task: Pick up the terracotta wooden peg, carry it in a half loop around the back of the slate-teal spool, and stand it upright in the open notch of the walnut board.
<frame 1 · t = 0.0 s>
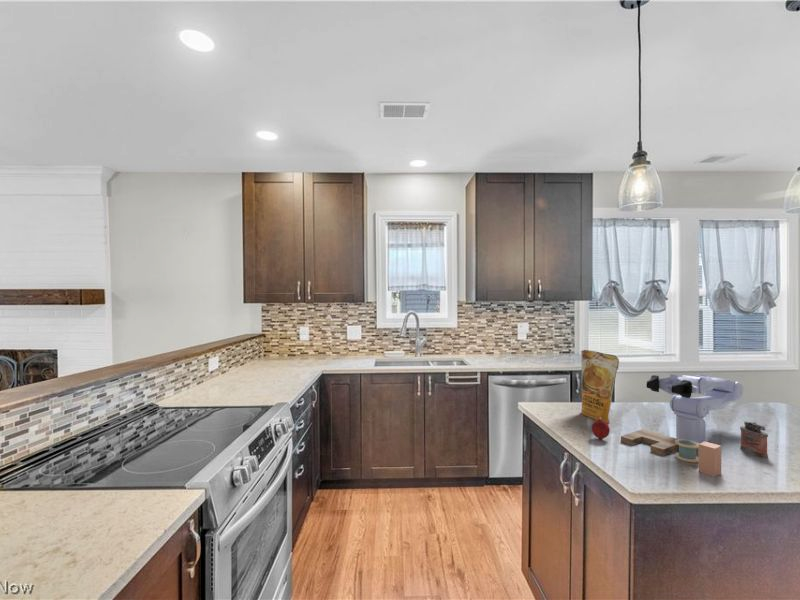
hand: (659, 386, 128), 22 cm above the counter, tool horizontal, fingers open, 7 cm apart
spool: (687, 458, 123), on the counter
onion: (600, 440, 140), on the counter
peg: (709, 472, 113), on the counter
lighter: (753, 453, 126), on the counter
notched board: (652, 444, 135), on the counter
pancake mix bag: (596, 418, 165), on the counter
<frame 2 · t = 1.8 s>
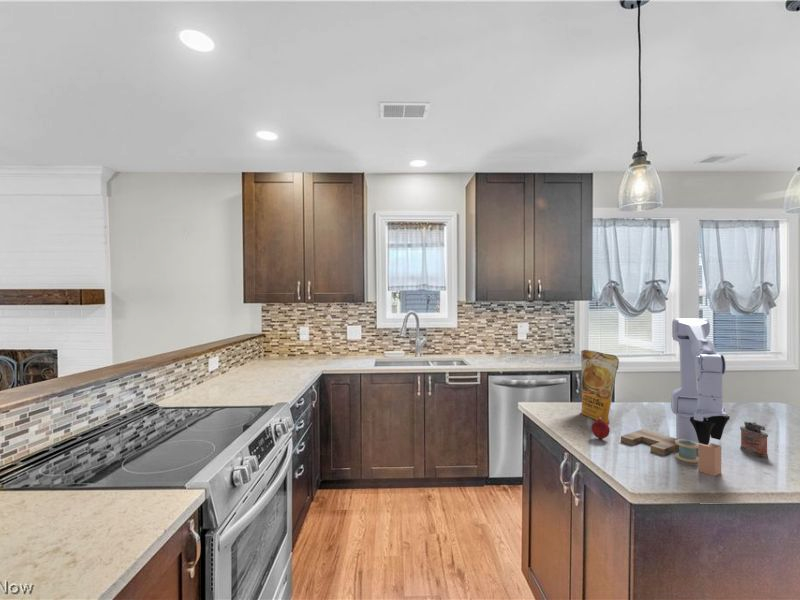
hand: (709, 441, 113), 9 cm above the counter, tool pointing down, fingers open, 7 cm apart
nothing on the counter moved.
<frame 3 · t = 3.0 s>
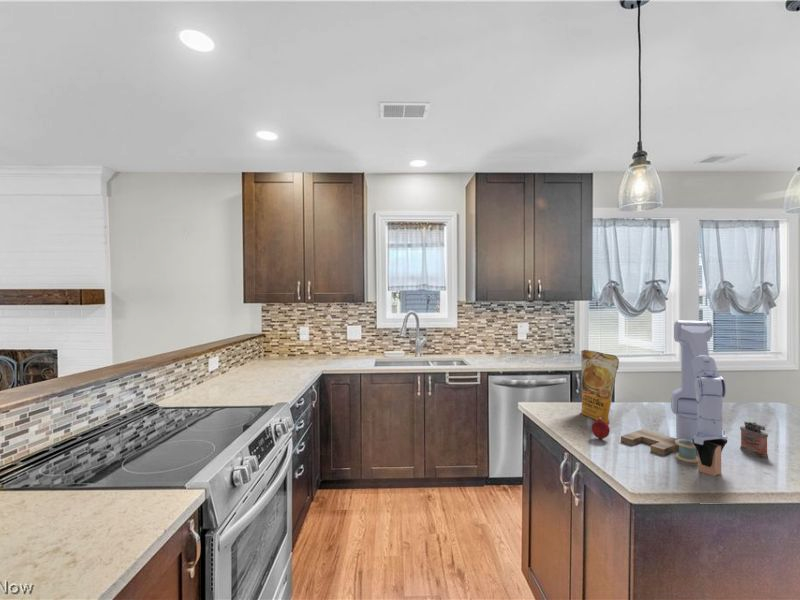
hand: (709, 463, 113), 2 cm above the counter, tool pointing down, fingers closed on peg, 4 cm apart
peg: (709, 471, 113), on the counter, touching gripper
everything else where it was.
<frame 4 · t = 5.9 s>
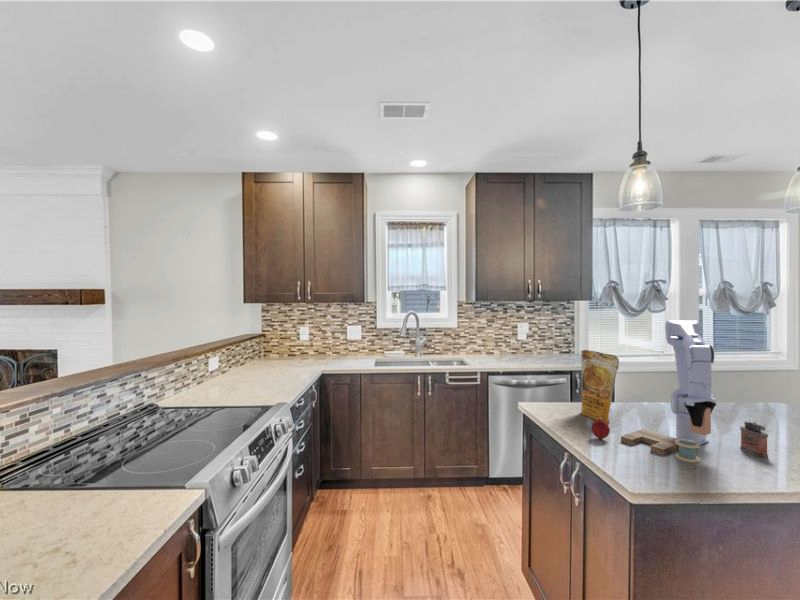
hand: (700, 424, 124), 10 cm above the counter, tool pointing down, fingers closed on peg, 4 cm apart
peg: (700, 432, 124), point 8 cm above the counter, touching gripper
everything else where it was.
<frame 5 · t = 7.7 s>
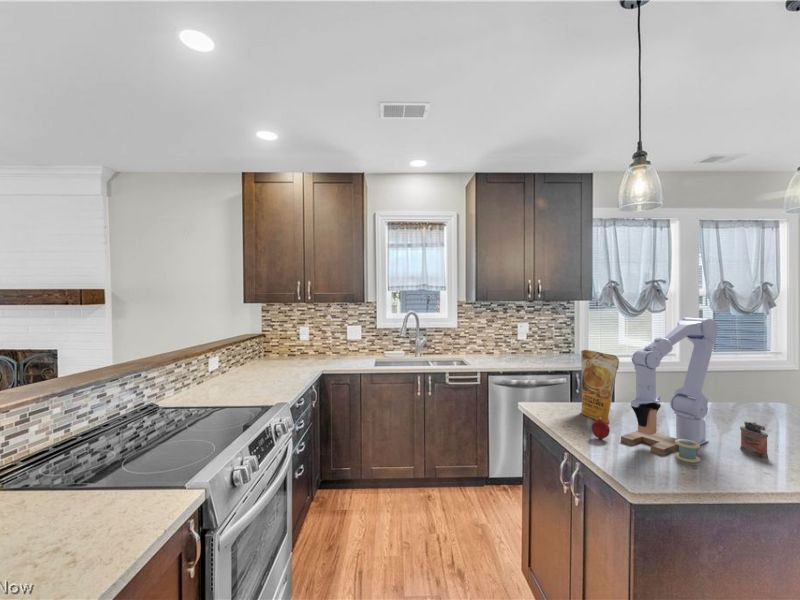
hand: (645, 424, 133), 8 cm above the counter, tool pointing down, fingers closed on peg, 4 cm apart
peg: (647, 432, 133), point 5 cm above the counter, touching gripper
everything else where it was.
when the fingers open (3 cm above the counter, at t = 9.0 s): peg stays where it is, on the counter.
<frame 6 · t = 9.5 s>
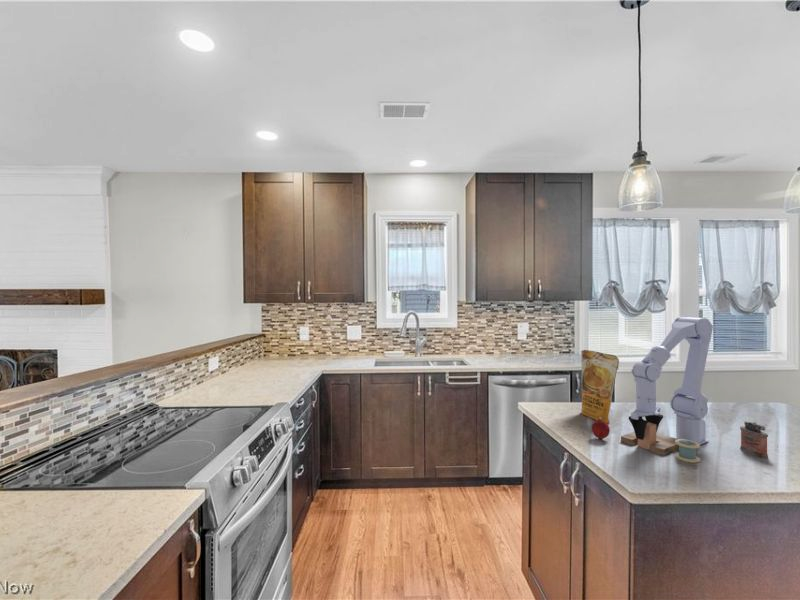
hand: (646, 436, 133), 3 cm above the counter, tool pointing down, fingers open, 7 cm apart
peg: (647, 446, 133), on the counter
everything else where it was.
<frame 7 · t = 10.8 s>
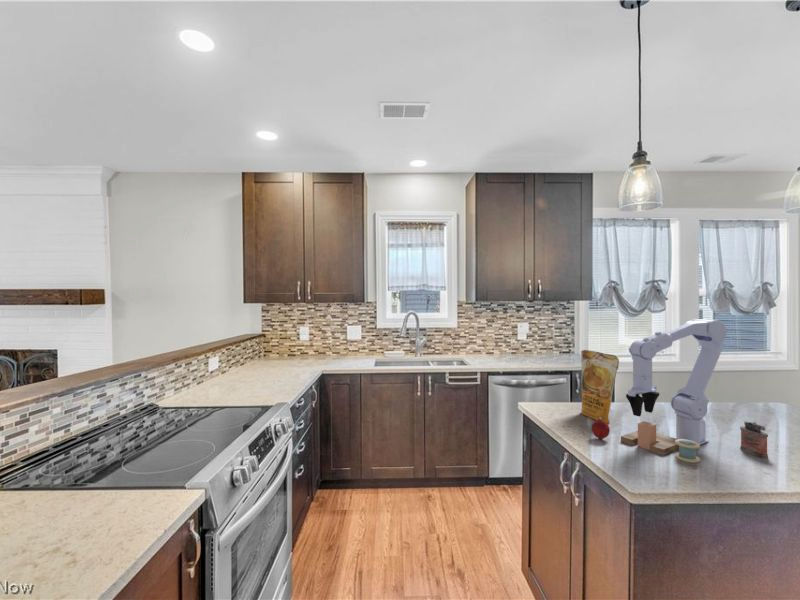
hand: (642, 413, 136), 10 cm above the counter, tool pointing down, fingers open, 7 cm apart
nothing on the counter moved.
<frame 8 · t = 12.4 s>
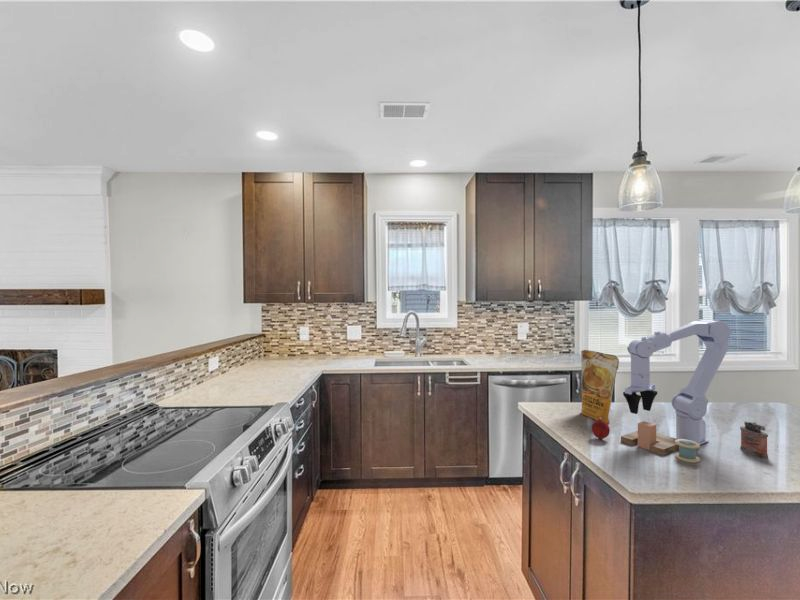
hand: (640, 411, 138), 10 cm above the counter, tool pointing down, fingers open, 7 cm apart
nothing on the counter moved.
at the end: peg 0.3 cm from the target spot on the notched board, point 0.0 cm above the notched board's base; peg tilted 0°; the gripper is holding nothing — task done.
